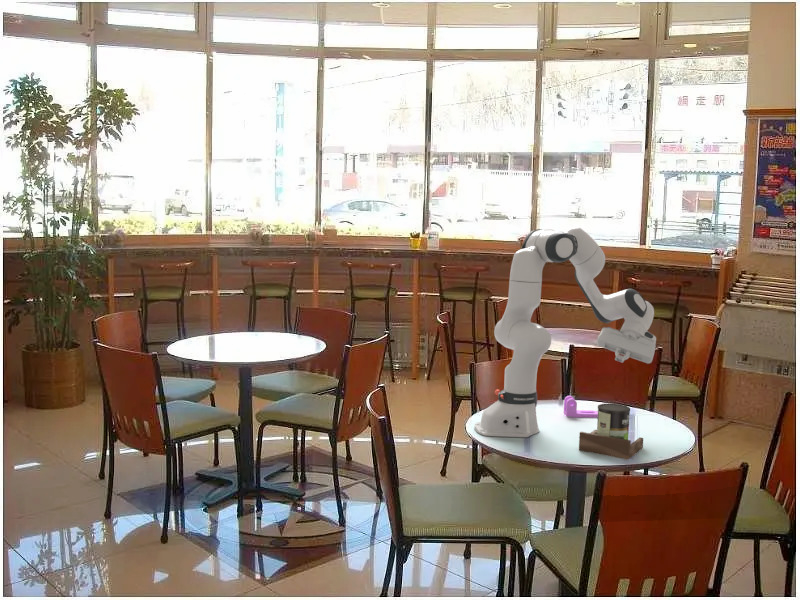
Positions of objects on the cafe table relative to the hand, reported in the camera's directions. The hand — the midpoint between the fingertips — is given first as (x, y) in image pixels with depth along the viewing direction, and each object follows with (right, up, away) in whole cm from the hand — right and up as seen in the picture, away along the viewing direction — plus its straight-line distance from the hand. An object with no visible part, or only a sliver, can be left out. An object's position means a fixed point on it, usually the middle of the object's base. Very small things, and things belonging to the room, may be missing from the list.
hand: (619, 360), depth 291 cm
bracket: (-8, -23, +23) cm, 33 cm away
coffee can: (-7, -28, -18) cm, 34 cm away
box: (-7, -28, -18) cm, 34 cm away
